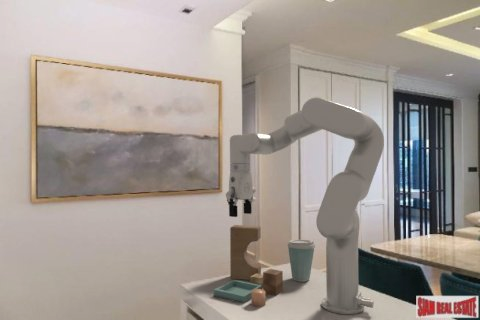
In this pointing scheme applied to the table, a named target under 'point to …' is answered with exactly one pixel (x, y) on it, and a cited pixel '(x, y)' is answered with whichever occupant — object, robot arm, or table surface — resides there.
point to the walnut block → (273, 281)
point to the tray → (236, 291)
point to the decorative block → (243, 251)
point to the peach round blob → (258, 297)
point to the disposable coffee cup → (301, 258)
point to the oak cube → (257, 279)
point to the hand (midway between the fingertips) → (240, 215)
